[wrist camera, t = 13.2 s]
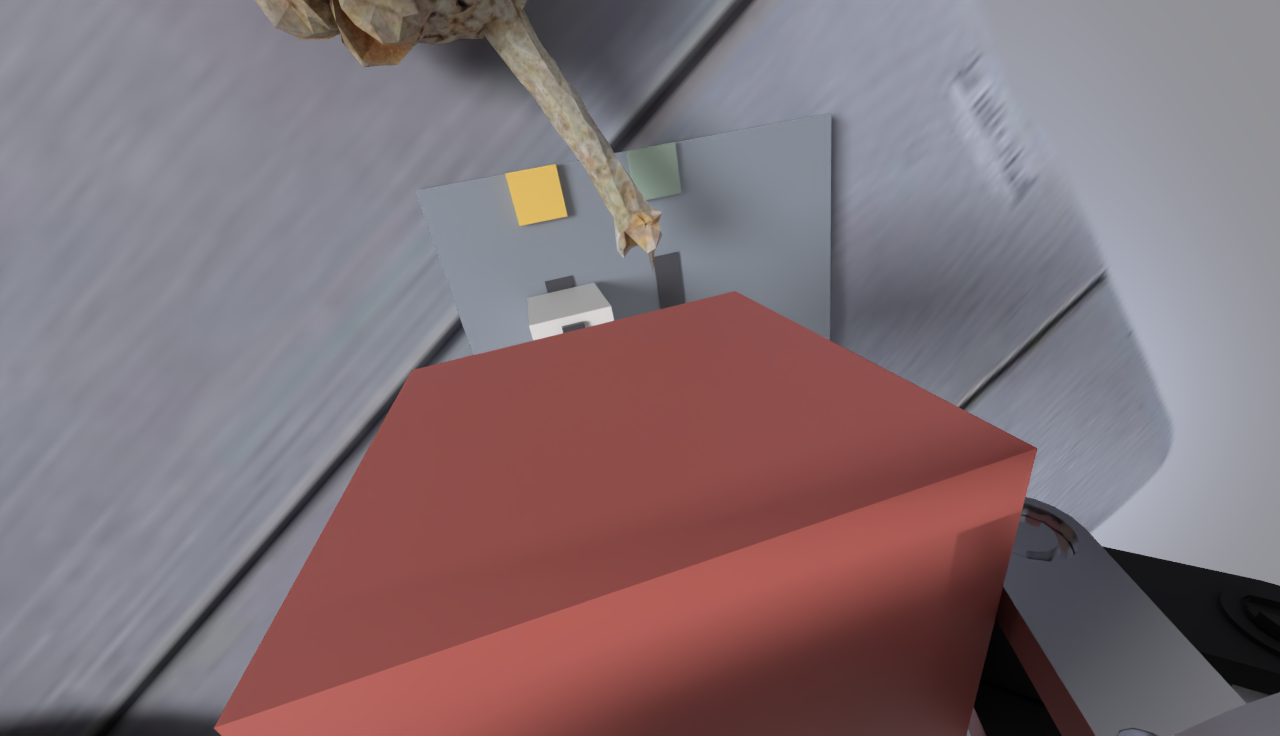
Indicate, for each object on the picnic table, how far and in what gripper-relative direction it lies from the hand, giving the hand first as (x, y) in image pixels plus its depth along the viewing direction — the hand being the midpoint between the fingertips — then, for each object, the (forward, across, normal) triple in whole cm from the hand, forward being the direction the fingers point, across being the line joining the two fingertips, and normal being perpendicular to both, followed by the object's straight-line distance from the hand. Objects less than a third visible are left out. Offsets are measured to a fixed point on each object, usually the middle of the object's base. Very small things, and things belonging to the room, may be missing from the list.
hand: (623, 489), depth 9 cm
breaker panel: (+14, -5, +1) cm, 15 cm away
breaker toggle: (+13, 0, 0) cm, 13 cm away
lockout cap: (+1, 0, 0) cm, 1 cm away
